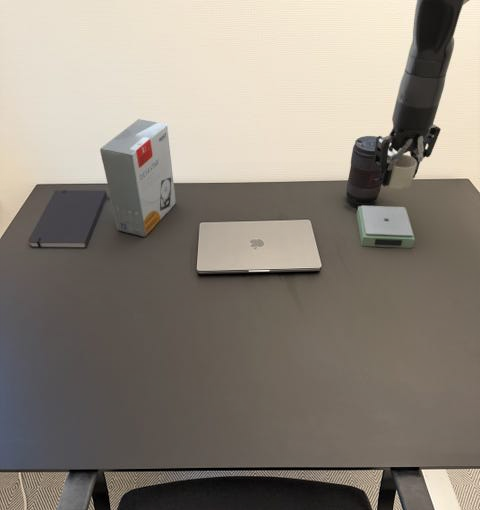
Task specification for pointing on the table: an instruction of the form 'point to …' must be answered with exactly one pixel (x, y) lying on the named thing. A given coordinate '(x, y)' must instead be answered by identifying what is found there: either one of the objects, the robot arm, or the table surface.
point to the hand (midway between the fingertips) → (396, 180)
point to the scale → (385, 227)
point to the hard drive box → (139, 176)
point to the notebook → (68, 219)
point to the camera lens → (363, 174)
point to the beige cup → (402, 172)
